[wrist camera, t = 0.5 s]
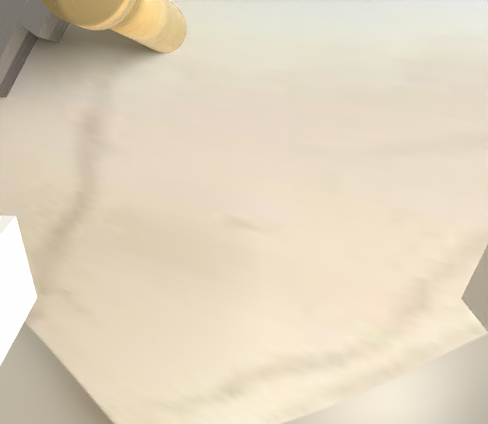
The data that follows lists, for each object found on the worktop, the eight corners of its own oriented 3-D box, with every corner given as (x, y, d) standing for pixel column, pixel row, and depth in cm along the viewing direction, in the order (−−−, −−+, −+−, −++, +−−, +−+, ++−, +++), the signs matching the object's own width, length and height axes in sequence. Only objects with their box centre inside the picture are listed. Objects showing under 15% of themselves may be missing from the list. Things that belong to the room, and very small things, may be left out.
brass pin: (155, -20, 32) (60, -115, 19) (204, 20, 32) (146, -46, 19) (123, 34, 34) (13, -18, 20) (171, 72, 34) (94, 45, 20)
